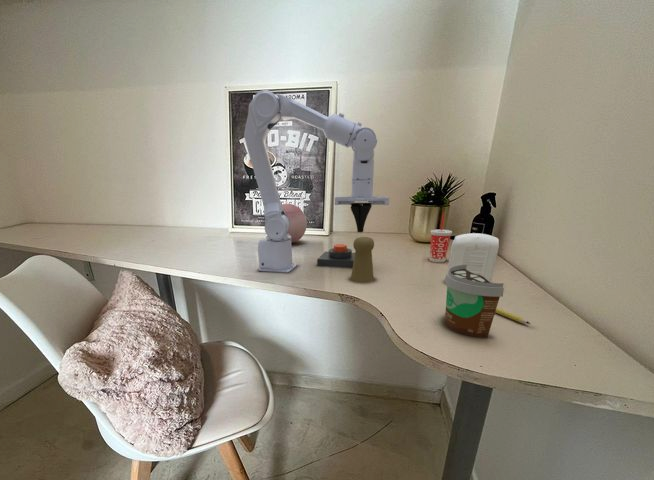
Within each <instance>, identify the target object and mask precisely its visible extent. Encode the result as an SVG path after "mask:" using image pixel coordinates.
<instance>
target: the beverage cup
mask: <svg viewBox="0 0 654 480" xmlns="http://www.w3.org/2000/svg"><path fill="white" fill-rule="evenodd" d="M444 222H445V213H442V216H441V223H440V229H431V230H430V244H429V245H430V247H429V261H430V262H432V263H444V262H446V259H447V254H448V251H449V246H450V240H451V237H452V236H451V235H452V234H453V231H452V230H450V229H443V228H444Z"/></svg>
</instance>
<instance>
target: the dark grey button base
mask: <svg viewBox="0 0 654 480" xmlns="http://www.w3.org/2000/svg"><path fill="white" fill-rule="evenodd" d="M354 256H355V252H353V250H352V249H351V248H348V247H347V251H346V252H335V251H334V247H333V248H329V249H328V251H324V252H323V253H322V254H321V255H320V256H319V257H318V258H317V259H316V266H317V267H329V268H330V267H331V268H347V269H348V268H349V269H352V268H353V262H354Z"/></svg>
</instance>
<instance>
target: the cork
mask: <svg viewBox="0 0 654 480" xmlns="http://www.w3.org/2000/svg"><path fill="white" fill-rule="evenodd" d="M374 248H375V241H374V238H372V237H368V236H360V237H356V238H355V239H354V240H353V249H354V253H355V256H354V262H353V268H351V274H350V280H351V281H352V282H355V283H371V282H373V281H374V280H375V279H374V277H375V276H374V266H373V265H374V263H373V250H374Z"/></svg>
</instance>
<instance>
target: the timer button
mask: <svg viewBox="0 0 654 480" xmlns="http://www.w3.org/2000/svg"><path fill="white" fill-rule="evenodd" d="M333 248H334V251H335V252H346V251H347V248H348V245H347V244H345V243H344V244H342V243H338V244H334V245H333Z"/></svg>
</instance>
